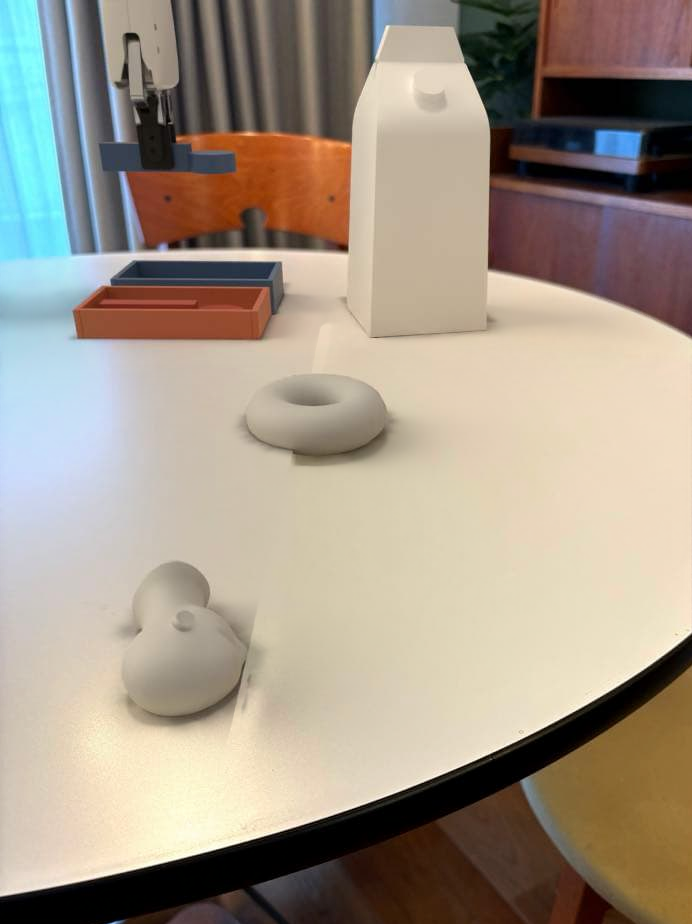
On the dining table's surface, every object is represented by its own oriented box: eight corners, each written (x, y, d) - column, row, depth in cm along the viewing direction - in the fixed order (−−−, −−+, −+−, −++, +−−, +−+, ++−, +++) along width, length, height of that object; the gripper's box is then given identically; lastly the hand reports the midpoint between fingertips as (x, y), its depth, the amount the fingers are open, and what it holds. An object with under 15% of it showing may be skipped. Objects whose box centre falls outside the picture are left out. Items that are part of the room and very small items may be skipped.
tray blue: (115, 313, 87) (109, 279, 85) (137, 291, 95) (133, 260, 93) (274, 314, 87) (272, 280, 85) (283, 292, 95) (281, 261, 93)
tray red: (79, 347, 76) (72, 309, 75) (107, 320, 84) (101, 285, 83) (260, 348, 77) (257, 311, 75) (271, 321, 85) (269, 286, 83)
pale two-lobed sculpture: (237, 750, 34) (108, 737, 32) (234, 632, 41) (126, 616, 39) (262, 670, 32) (126, 652, 30) (254, 559, 39) (142, 540, 37)
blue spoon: (98, 173, 83) (93, 144, 82) (111, 167, 87) (107, 140, 86) (232, 174, 84) (230, 146, 82) (239, 168, 88) (237, 141, 87)
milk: (451, 301, 93) (463, 29, 80) (486, 330, 83) (506, 26, 70) (346, 307, 90) (340, 26, 77) (370, 337, 80) (368, 22, 67)
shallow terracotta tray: (98, 335, 78) (93, 308, 77) (112, 321, 82) (108, 295, 81) (242, 336, 78) (239, 309, 77) (248, 322, 83) (246, 296, 81)
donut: (277, 405, 65) (224, 454, 56) (275, 362, 63) (219, 406, 55) (401, 418, 63) (364, 471, 54) (402, 374, 61) (364, 421, 53)
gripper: (114, -42, 83) (142, 159, 92) (64, -61, 69) (102, 177, 79) (190, -41, 83) (210, 160, 92) (154, -60, 69) (182, 177, 79)
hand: (160, 166), depth 85 cm, fingers closed on blue spoon, 1 cm apart
